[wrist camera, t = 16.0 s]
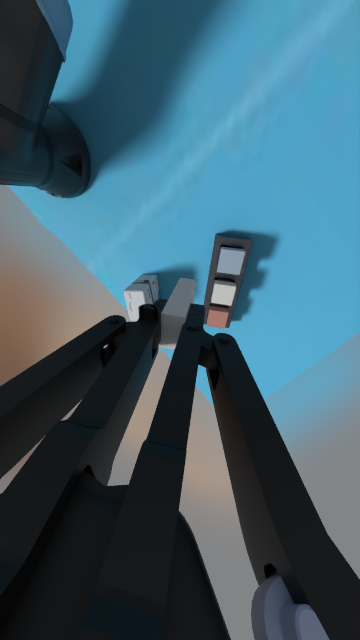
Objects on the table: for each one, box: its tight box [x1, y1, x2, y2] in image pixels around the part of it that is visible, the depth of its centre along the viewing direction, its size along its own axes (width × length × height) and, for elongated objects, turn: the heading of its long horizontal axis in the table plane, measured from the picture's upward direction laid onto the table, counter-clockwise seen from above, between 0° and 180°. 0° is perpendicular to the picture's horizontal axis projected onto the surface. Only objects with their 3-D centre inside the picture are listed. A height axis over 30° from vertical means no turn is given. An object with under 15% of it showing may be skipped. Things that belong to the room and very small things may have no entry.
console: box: [204, 234, 253, 328], centre depth 48 cm, size 23×8×4 cm, turn 175°
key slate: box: [217, 247, 245, 275], centre depth 41 cm, size 5×5×5 cm
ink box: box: [124, 275, 160, 322], centre depth 49 cm, size 8×5×12 cm, turn 4°
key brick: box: [207, 305, 229, 328], centre depth 50 cm, size 5×5×5 cm
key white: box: [211, 279, 236, 306], centre depth 45 cm, size 5×5×5 cm
